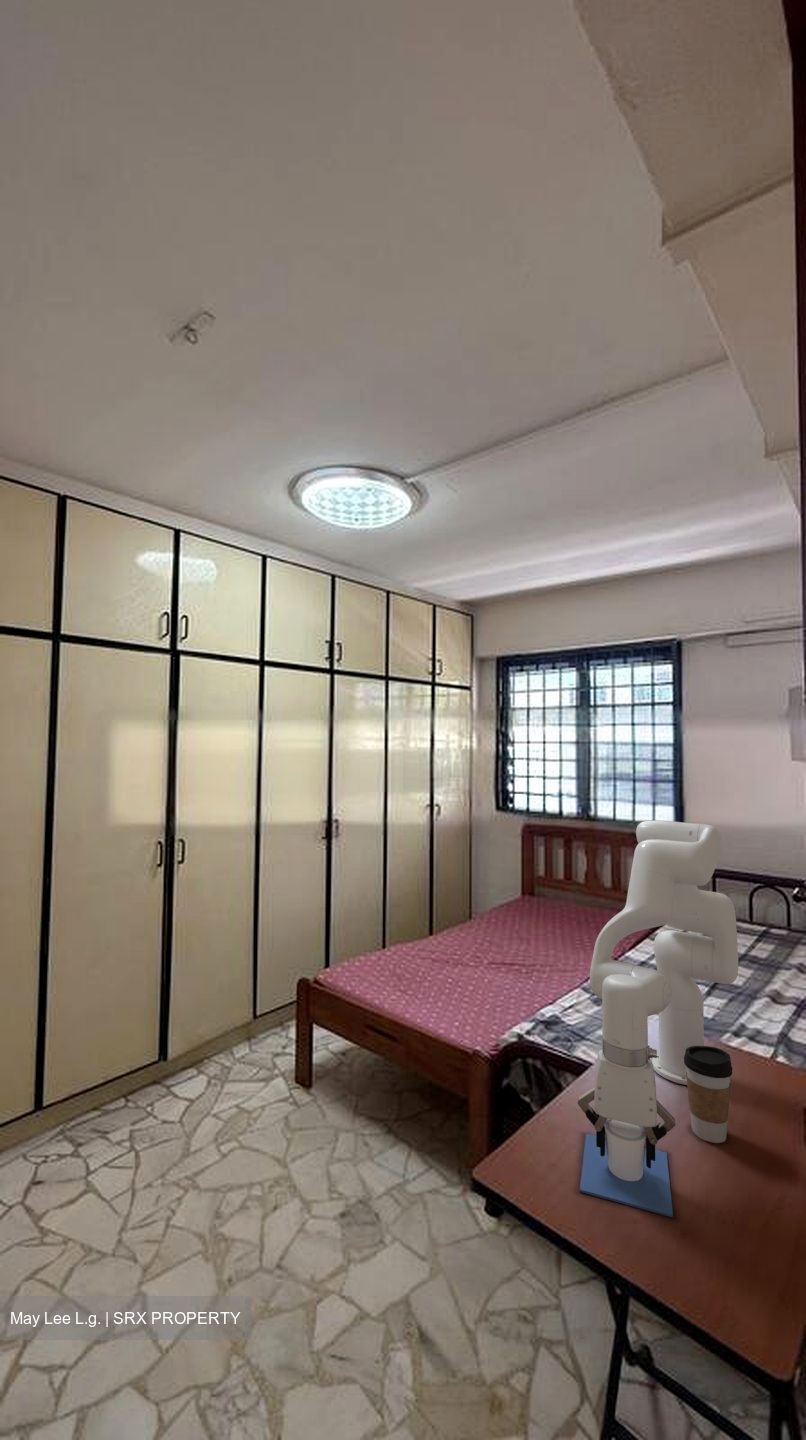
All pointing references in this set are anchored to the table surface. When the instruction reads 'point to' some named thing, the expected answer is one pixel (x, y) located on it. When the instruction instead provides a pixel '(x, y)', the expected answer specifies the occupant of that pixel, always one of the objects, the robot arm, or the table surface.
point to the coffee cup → (708, 1091)
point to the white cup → (625, 1149)
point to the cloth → (640, 1193)
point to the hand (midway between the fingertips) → (625, 1156)
